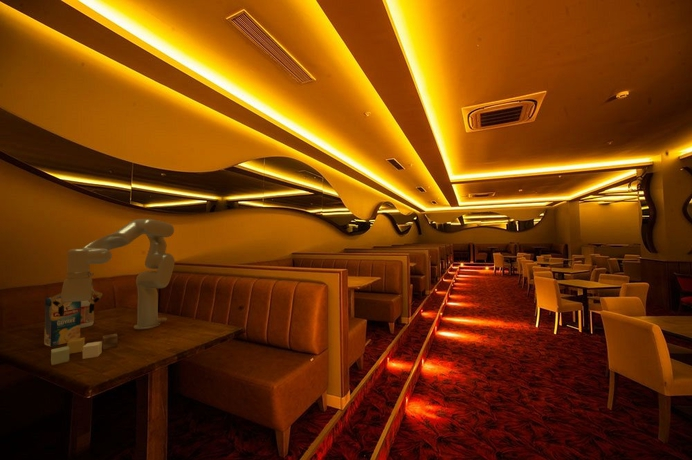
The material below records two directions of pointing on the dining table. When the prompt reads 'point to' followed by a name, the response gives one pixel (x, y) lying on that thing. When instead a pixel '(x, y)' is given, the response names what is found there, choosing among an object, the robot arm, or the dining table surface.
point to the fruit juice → (86, 314)
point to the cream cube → (92, 349)
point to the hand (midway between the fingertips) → (76, 314)
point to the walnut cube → (110, 341)
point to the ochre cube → (76, 345)
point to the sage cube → (59, 355)
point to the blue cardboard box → (61, 322)
